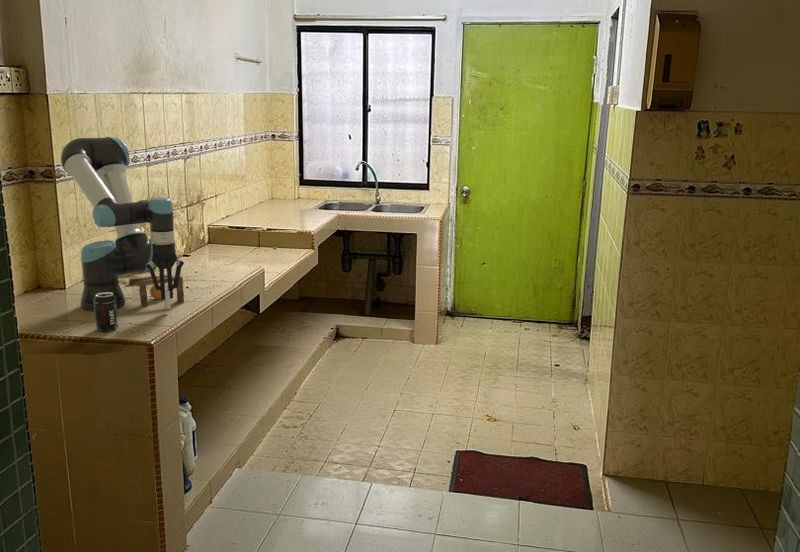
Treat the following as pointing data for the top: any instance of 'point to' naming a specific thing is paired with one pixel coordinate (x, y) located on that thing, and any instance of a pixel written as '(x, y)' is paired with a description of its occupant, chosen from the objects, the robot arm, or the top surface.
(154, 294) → the ball
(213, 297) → the top surface
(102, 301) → the beverage can
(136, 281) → the wall
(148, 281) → the bridge
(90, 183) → the robot arm
